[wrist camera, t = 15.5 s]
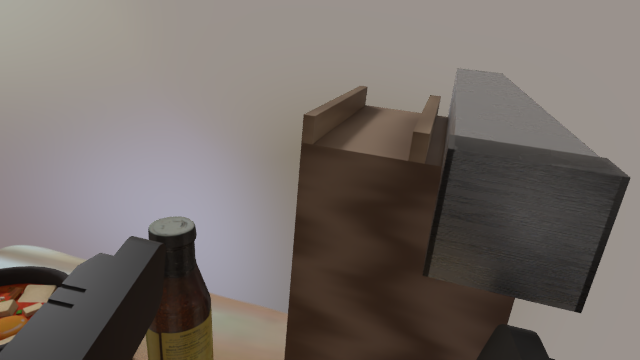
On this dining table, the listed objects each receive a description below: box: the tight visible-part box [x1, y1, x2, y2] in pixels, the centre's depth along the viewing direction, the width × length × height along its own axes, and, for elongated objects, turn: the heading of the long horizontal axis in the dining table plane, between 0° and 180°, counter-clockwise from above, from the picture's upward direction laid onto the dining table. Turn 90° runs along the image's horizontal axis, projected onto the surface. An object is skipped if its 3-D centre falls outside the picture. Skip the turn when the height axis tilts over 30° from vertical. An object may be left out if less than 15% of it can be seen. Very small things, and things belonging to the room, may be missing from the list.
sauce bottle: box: [146, 217, 213, 360], centre depth 42 cm, size 6×6×20 cm
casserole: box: [0, 266, 69, 352], centre depth 45 cm, size 25×19×8 cm
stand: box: [285, 86, 515, 360], centre depth 33 cm, size 15×17×34 cm
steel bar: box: [422, 68, 630, 313], centre depth 23 cm, size 4×28×4 cm, turn 163°
